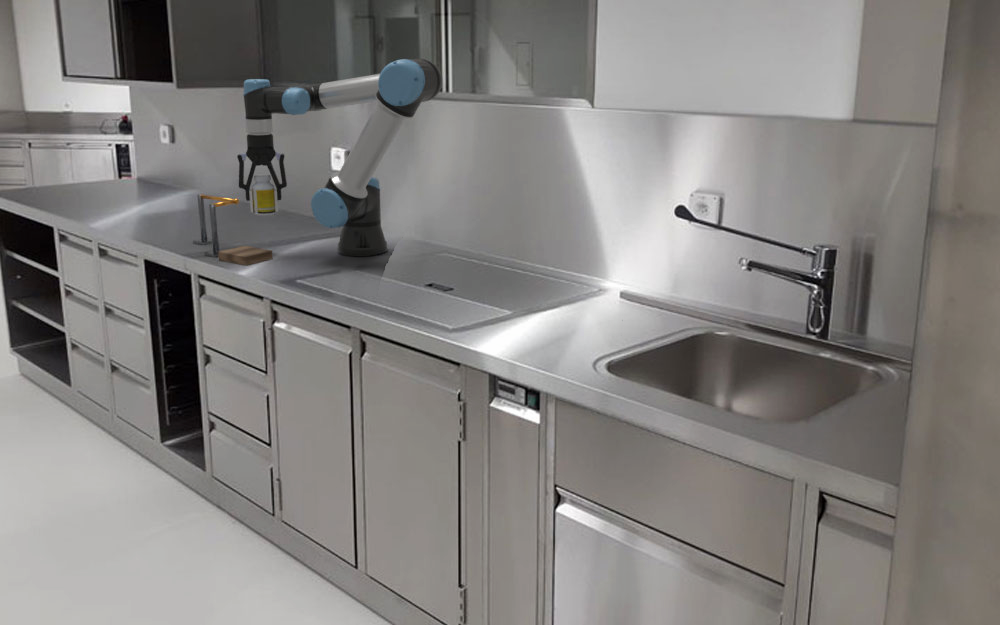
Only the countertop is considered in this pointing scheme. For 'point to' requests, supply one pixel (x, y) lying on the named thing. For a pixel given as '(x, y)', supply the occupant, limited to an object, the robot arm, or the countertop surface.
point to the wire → (213, 221)
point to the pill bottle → (263, 196)
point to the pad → (245, 255)
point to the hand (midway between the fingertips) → (264, 211)
